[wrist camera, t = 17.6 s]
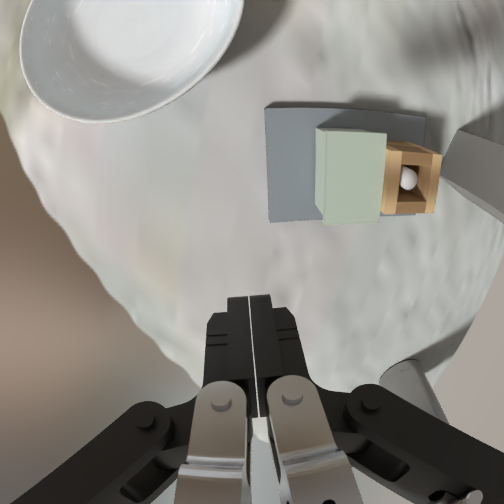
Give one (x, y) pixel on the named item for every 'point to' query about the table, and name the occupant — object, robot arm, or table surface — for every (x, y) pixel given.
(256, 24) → the table surface
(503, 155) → the perfume bottle
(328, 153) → the block
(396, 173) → the sleeve
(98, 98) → the serving bowl
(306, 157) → the board
